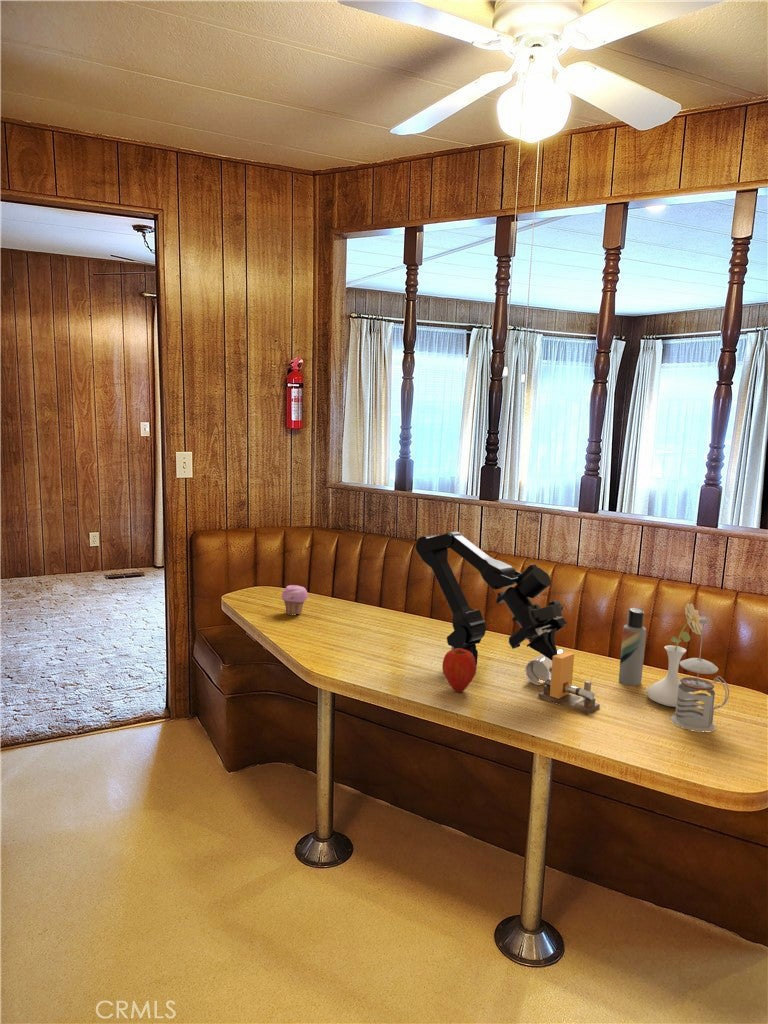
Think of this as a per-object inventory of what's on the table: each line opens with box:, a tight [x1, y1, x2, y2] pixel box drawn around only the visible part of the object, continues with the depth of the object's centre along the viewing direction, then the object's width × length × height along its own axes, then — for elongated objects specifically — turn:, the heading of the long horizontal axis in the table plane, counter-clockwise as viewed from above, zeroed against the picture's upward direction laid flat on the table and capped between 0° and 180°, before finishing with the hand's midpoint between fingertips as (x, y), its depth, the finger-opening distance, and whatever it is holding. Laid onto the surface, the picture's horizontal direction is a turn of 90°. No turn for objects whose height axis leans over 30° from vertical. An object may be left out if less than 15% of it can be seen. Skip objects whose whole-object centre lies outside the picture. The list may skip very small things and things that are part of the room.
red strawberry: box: [441, 648, 477, 693], centre depth 171 cm, size 9×8×11 cm
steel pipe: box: [545, 678, 595, 700], centre depth 167 cm, size 12×2×2 cm, turn 45°
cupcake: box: [281, 584, 309, 616], centre depth 233 cm, size 9×9×10 cm
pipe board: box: [537, 680, 601, 715], centre depth 168 cm, size 13×8×5 cm, turn 45°
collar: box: [550, 650, 575, 699], centre depth 168 cm, size 2×6×10 cm, turn 135°
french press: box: [669, 617, 730, 733], centre depth 156 cm, size 10×12×25 cm
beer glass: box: [525, 648, 566, 686], centre depth 183 cm, size 7×7×15 cm
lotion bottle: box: [618, 607, 647, 687], centre depth 182 cm, size 6×6×20 cm
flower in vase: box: [645, 602, 705, 708], centre depth 169 cm, size 13×11×25 cm
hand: (557, 661), depth 169 cm, fingers closed, pressing on collar
